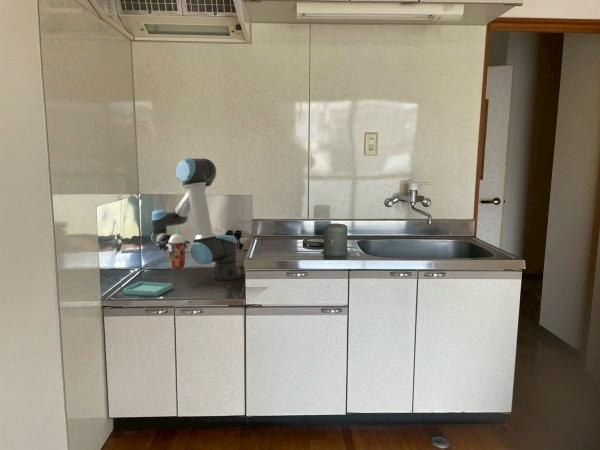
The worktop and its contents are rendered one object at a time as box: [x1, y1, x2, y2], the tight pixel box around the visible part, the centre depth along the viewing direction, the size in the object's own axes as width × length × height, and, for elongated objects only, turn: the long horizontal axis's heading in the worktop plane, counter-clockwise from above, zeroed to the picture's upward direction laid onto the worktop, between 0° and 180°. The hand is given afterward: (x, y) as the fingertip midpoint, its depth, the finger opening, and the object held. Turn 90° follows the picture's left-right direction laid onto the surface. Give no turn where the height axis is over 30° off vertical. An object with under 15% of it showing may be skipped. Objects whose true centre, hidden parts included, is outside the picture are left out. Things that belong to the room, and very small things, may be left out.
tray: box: [122, 281, 173, 298], centre depth 222 cm, size 18×14×2 cm
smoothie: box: [168, 228, 186, 270], centre depth 230 cm, size 8×8×20 cm
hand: (180, 247), depth 226 cm, fingers closed on smoothie, 8 cm apart
